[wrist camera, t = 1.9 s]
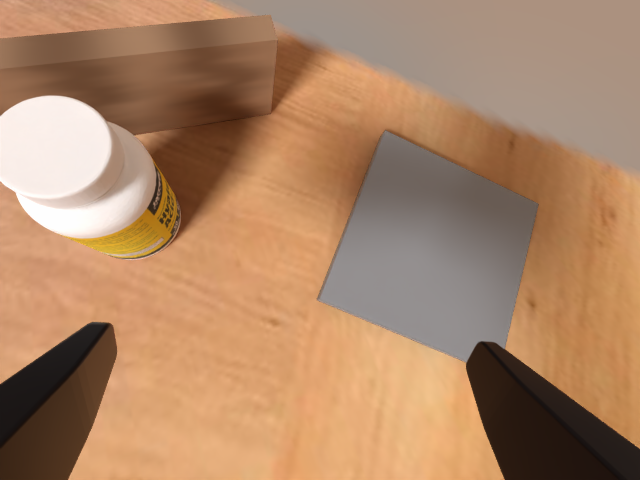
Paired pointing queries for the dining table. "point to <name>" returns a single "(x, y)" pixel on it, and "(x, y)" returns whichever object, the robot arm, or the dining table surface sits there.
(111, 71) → the walnut screen
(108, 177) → the supplement bottle
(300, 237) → the dining table surface
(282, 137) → the dining table surface
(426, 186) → the grey mat
